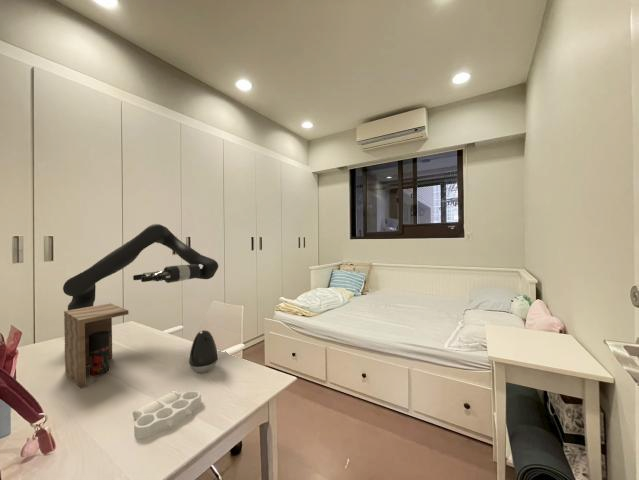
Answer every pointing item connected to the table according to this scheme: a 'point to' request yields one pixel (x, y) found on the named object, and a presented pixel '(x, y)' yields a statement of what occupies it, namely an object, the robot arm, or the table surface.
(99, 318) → the wooden stand
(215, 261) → the robot arm
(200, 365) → the black rounded cone
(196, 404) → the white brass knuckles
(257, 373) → the table surface
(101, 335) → the deodorant
